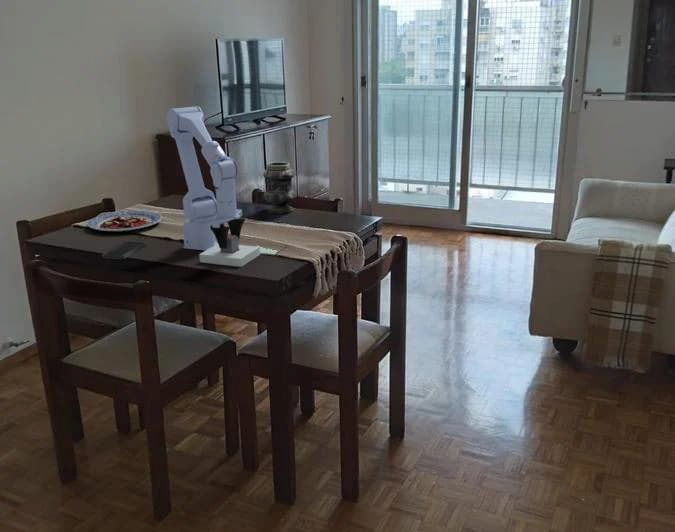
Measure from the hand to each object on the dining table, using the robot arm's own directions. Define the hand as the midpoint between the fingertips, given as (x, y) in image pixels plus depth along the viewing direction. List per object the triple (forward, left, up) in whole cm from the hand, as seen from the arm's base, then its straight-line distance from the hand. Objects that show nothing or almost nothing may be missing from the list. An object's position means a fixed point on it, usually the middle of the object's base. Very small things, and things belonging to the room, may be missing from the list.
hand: (229, 244), depth 211 cm
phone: (-36, -4, -5) cm, 37 cm away
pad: (+7, +12, -4) cm, 14 cm away
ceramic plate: (-55, +22, -5) cm, 59 cm away
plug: (0, 0, -4) cm, 4 cm away
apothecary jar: (-11, +58, -5) cm, 59 cm away
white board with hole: (0, 0, -4) cm, 4 cm away
